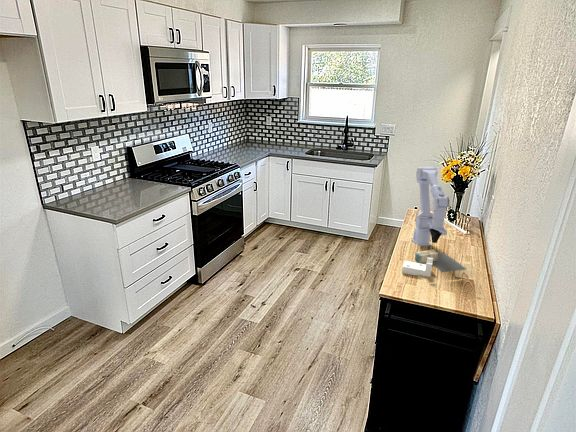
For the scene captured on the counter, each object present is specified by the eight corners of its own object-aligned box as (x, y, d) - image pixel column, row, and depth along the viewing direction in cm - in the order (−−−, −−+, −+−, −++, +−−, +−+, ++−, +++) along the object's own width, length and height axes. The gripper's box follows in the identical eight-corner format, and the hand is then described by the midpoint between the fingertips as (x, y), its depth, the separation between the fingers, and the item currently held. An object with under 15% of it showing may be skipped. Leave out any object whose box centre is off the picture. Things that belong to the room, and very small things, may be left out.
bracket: (430, 272, 182) (433, 258, 180) (429, 278, 176) (432, 264, 174) (403, 266, 187) (405, 253, 185) (401, 273, 181) (403, 259, 178)
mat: (420, 255, 198) (420, 254, 198) (443, 253, 201) (443, 252, 201) (441, 273, 181) (441, 271, 181) (466, 270, 184) (466, 269, 184)
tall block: (433, 256, 195) (415, 259, 194) (433, 249, 193) (415, 252, 192) (437, 260, 191) (419, 263, 190) (438, 253, 189) (419, 256, 188)
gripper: (423, 214, 198) (420, 237, 203) (439, 224, 185) (435, 248, 189) (435, 213, 199) (431, 236, 204) (452, 223, 186) (447, 247, 191)
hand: (434, 242), depth 197 cm, fingers closed
